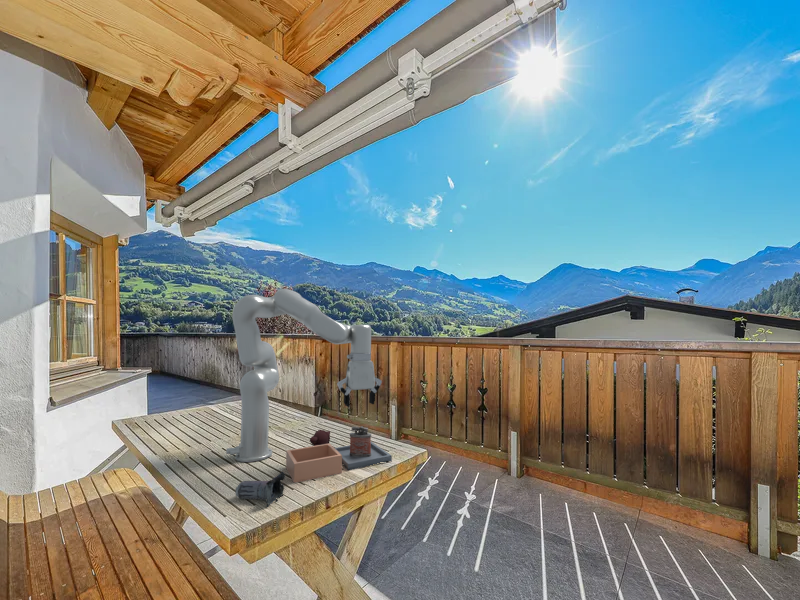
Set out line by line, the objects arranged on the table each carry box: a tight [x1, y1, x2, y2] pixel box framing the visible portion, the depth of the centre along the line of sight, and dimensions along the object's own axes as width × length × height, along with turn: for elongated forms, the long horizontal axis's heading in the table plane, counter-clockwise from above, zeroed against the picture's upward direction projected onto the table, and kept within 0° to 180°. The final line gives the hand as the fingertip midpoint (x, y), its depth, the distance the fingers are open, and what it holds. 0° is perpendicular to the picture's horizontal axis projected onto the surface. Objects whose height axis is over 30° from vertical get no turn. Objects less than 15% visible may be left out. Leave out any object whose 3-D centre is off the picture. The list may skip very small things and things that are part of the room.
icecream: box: [309, 429, 331, 446], centre depth 136 cm, size 7×7×15 cm
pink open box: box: [285, 442, 343, 484], centre depth 113 cm, size 15×14×6 cm
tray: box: [334, 441, 393, 471], centre depth 124 cm, size 16×18×2 cm
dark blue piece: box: [234, 471, 286, 508], centre depth 93 cm, size 9×8×12 cm
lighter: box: [349, 425, 372, 457], centre depth 124 cm, size 8×3×10 cm, turn 79°
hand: (359, 404), depth 125 cm, fingers open, 9 cm apart
